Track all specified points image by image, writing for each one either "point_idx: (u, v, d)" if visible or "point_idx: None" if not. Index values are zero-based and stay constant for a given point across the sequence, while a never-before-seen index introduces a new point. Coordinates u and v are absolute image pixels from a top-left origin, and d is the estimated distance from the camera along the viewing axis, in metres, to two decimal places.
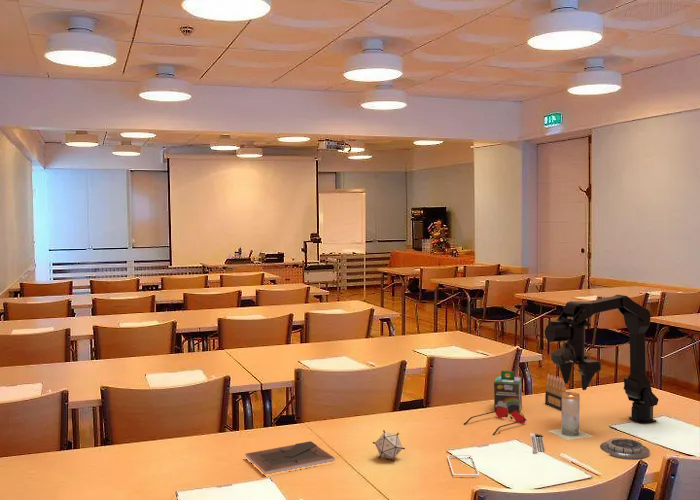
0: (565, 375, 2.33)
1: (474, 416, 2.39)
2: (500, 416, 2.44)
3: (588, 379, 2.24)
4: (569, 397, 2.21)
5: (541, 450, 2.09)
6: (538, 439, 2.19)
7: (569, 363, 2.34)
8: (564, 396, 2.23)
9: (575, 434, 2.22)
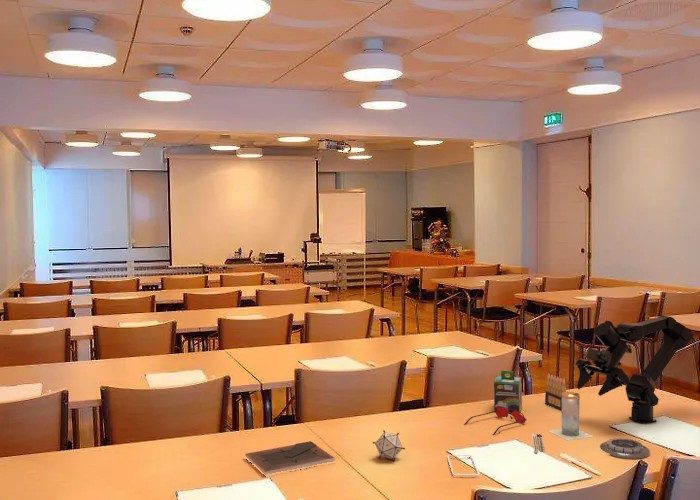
0: (581, 381, 2.32)
1: (474, 416, 2.39)
2: (500, 416, 2.44)
3: (609, 388, 2.23)
4: (569, 397, 2.21)
5: (542, 450, 2.09)
6: (540, 439, 2.19)
7: (589, 375, 2.34)
8: (564, 396, 2.23)
9: (575, 434, 2.22)
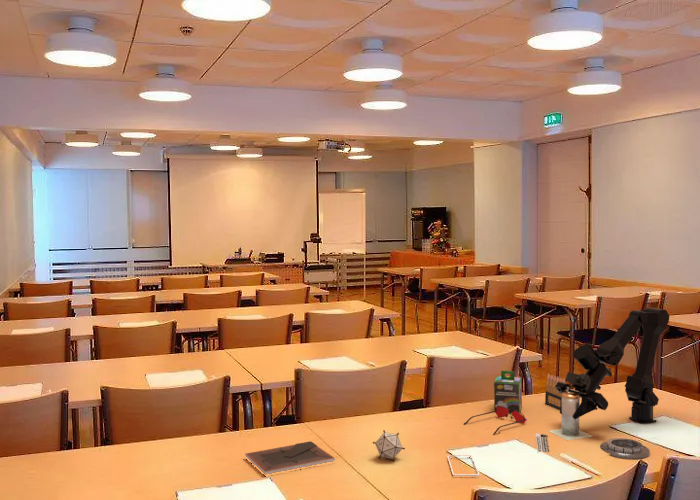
0: None
1: (474, 416, 2.39)
2: (500, 416, 2.44)
3: (584, 411, 2.21)
4: (569, 397, 2.21)
5: (546, 450, 2.09)
6: (543, 439, 2.19)
7: None
8: (564, 396, 2.23)
9: (575, 434, 2.22)
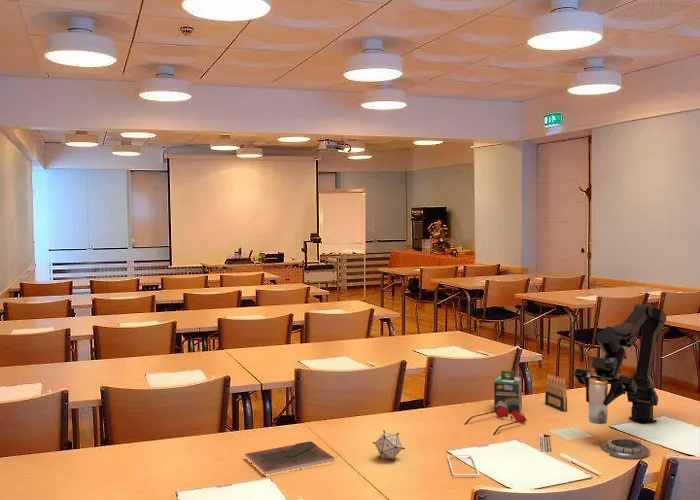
0: None
1: (474, 416, 2.39)
2: (500, 416, 2.44)
3: (613, 396, 2.13)
4: (600, 383, 2.11)
5: (548, 450, 2.09)
6: (546, 439, 2.19)
7: None
8: (594, 383, 2.12)
9: (605, 421, 2.13)
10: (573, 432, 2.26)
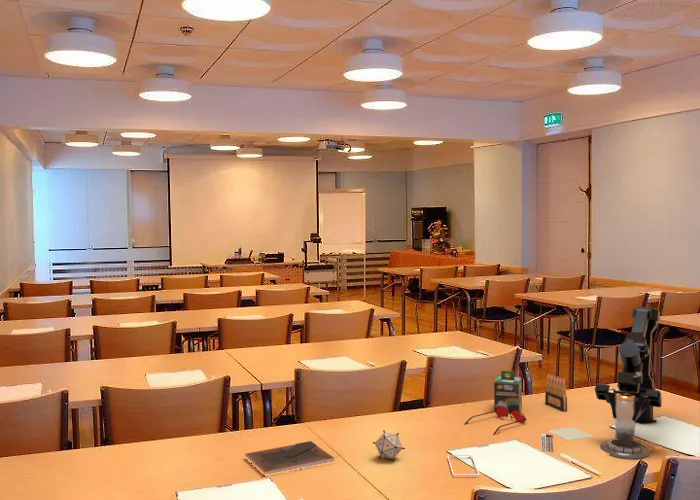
0: (614, 409, 2.11)
1: (474, 416, 2.39)
2: (500, 416, 2.44)
3: (640, 411, 2.08)
4: (630, 399, 2.06)
5: (550, 450, 2.09)
6: (548, 439, 2.19)
7: None
8: (624, 399, 2.06)
9: (634, 437, 2.08)
10: (573, 432, 2.26)
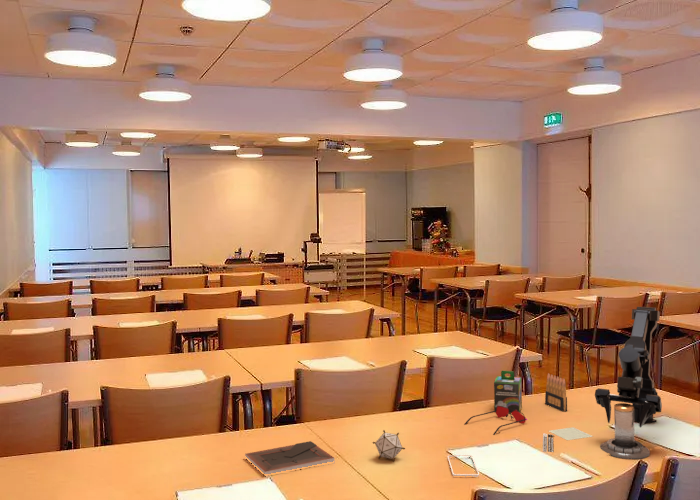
0: None
1: (474, 416, 2.39)
2: (500, 416, 2.44)
3: (646, 417, 2.08)
4: (628, 410, 2.06)
5: (551, 450, 2.09)
6: (550, 439, 2.18)
7: (610, 405, 2.15)
8: (622, 410, 2.06)
9: (633, 447, 2.08)
10: (573, 432, 2.26)
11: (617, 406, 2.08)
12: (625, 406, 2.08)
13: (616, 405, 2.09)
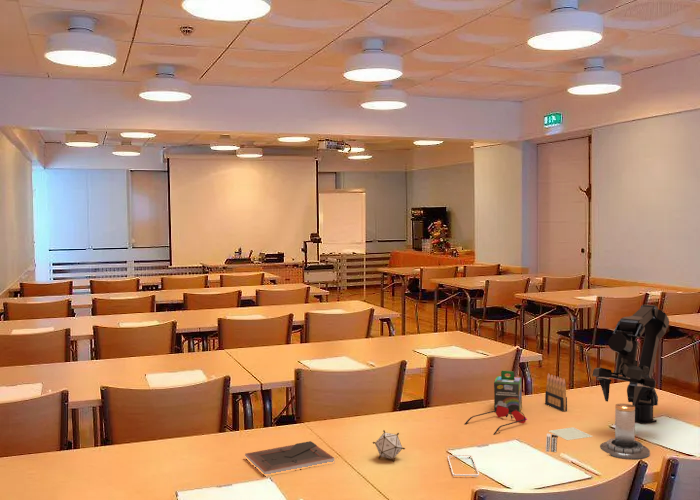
0: None
1: None
2: (500, 415, 2.44)
3: None
4: (629, 409, 2.06)
5: (554, 450, 2.09)
6: (553, 439, 2.18)
7: None
8: (623, 409, 2.07)
9: None
10: (573, 432, 2.26)
11: (618, 406, 2.09)
12: (626, 406, 2.09)
13: (617, 405, 2.10)
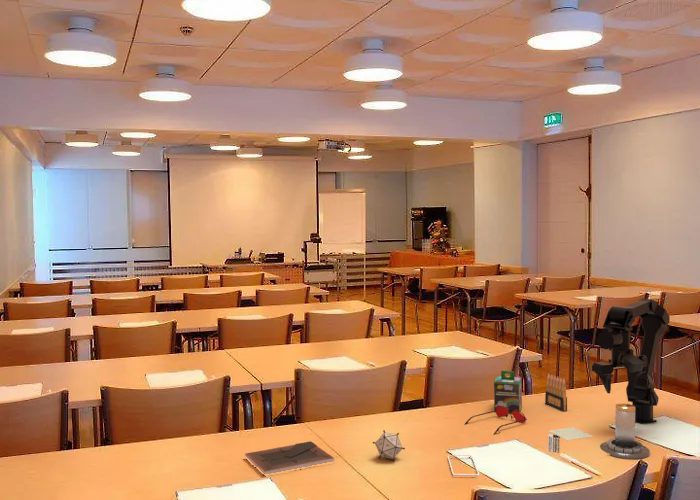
0: None
1: (475, 415, 2.40)
2: (500, 415, 2.44)
3: None
4: (630, 410, 2.06)
5: (556, 450, 2.09)
6: (555, 440, 2.18)
7: None
8: (624, 409, 2.07)
9: None
10: (573, 432, 2.26)
11: (618, 406, 2.09)
12: (626, 406, 2.09)
13: (617, 405, 2.10)
